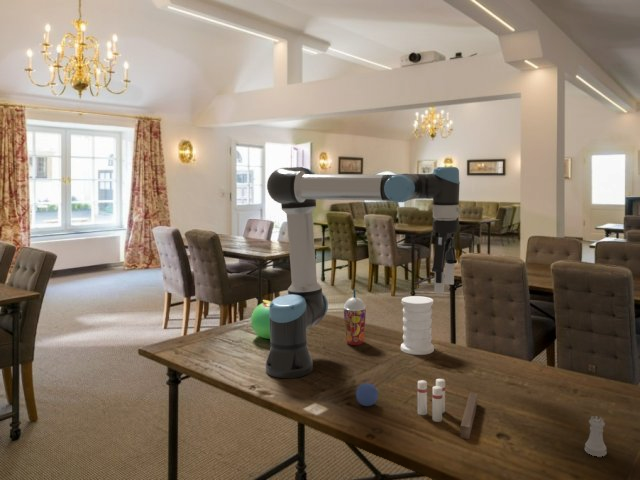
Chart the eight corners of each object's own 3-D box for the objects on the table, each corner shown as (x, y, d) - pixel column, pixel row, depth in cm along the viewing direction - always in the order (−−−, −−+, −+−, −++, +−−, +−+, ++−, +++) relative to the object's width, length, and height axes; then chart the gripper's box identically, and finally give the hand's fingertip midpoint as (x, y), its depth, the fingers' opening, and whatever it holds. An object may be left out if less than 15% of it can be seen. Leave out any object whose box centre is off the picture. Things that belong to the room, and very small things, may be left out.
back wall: (460, 437, 128) (460, 425, 127) (469, 403, 146) (469, 392, 146) (469, 439, 127) (469, 427, 127) (477, 404, 145) (477, 393, 145)
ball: (353, 408, 145) (352, 386, 144) (359, 399, 150) (359, 378, 149) (374, 411, 143) (374, 389, 142) (380, 402, 148) (380, 381, 147)
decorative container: (434, 344, 194) (434, 296, 192) (433, 355, 183) (433, 304, 181) (401, 343, 197) (401, 295, 195) (399, 353, 186) (399, 303, 183)
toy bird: (251, 331, 215) (250, 295, 213) (294, 329, 217) (293, 293, 215) (251, 346, 198) (249, 307, 196) (296, 343, 199) (295, 304, 197)
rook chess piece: (586, 445, 123) (587, 412, 122) (607, 451, 121) (609, 417, 119) (582, 454, 119) (584, 420, 118) (605, 460, 117) (607, 425, 116)
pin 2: (431, 421, 136) (431, 389, 135) (433, 416, 139) (433, 385, 138) (441, 422, 135) (441, 390, 134) (442, 418, 138) (443, 386, 137)
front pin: (416, 414, 140) (416, 383, 139) (418, 410, 143) (418, 379, 141) (426, 415, 139) (426, 384, 138) (427, 411, 142) (427, 380, 141)
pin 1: (434, 412, 141) (434, 381, 140) (436, 408, 143) (436, 378, 142) (444, 414, 140) (444, 382, 139) (445, 410, 142) (446, 379, 141)
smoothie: (342, 339, 202) (341, 287, 200) (364, 338, 203) (363, 287, 200) (345, 347, 194) (344, 292, 191) (368, 346, 195) (367, 292, 192)
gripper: (449, 223, 148) (447, 299, 150) (466, 215, 170) (464, 281, 173) (422, 222, 151) (421, 296, 154) (442, 215, 173) (441, 279, 176)
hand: (444, 288), depth 163 cm, fingers open, 13 cm apart
